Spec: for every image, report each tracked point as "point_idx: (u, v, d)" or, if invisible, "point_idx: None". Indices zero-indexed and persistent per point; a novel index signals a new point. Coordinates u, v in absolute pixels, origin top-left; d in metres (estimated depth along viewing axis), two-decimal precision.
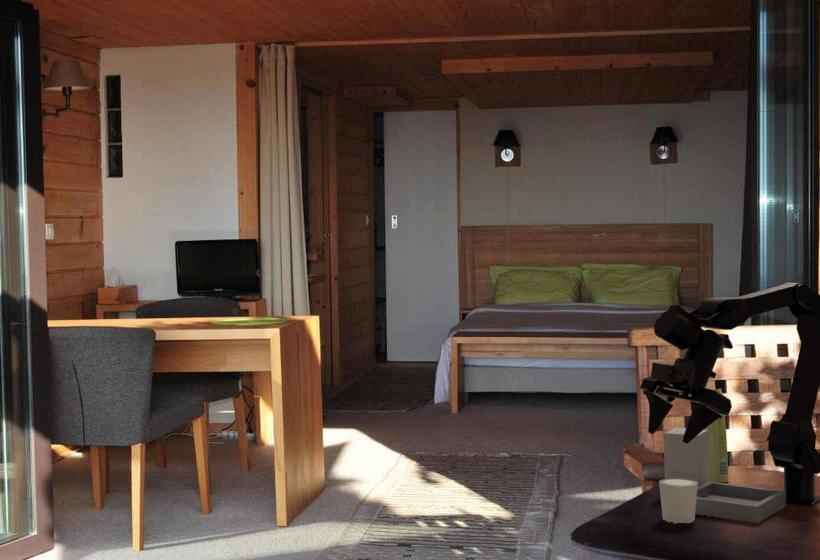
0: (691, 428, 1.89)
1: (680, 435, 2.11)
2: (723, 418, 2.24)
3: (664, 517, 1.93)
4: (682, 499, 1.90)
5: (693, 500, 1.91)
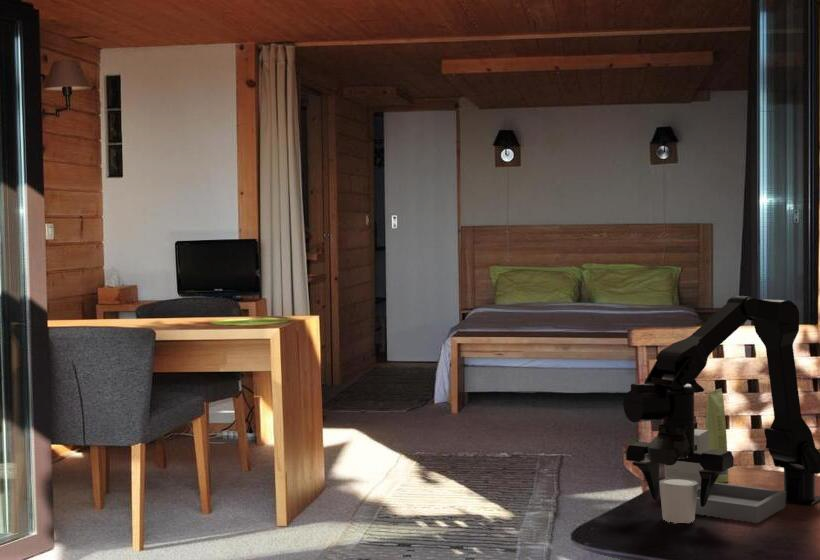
0: (706, 492, 1.89)
1: None
2: (723, 418, 2.24)
3: (664, 517, 1.93)
4: (682, 499, 1.90)
5: (693, 500, 1.91)
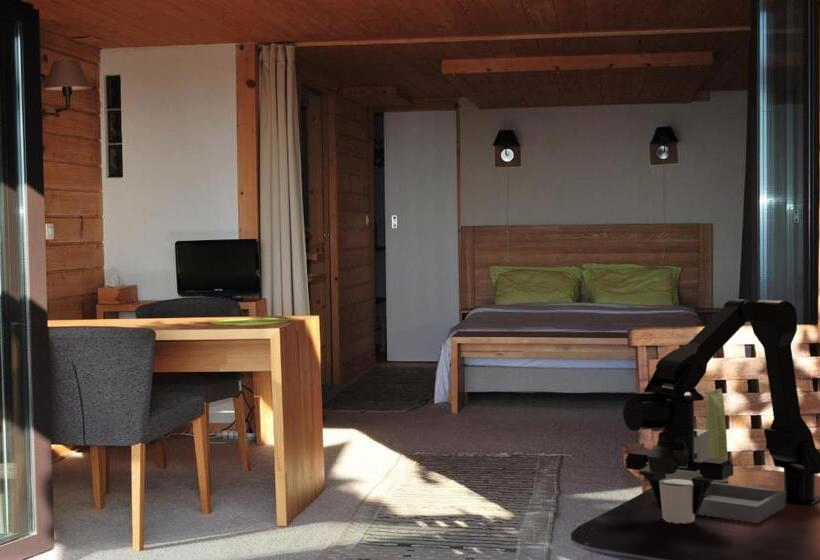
0: (698, 500, 1.90)
1: None
2: (723, 418, 2.24)
3: (664, 517, 1.93)
4: (682, 499, 1.90)
5: None
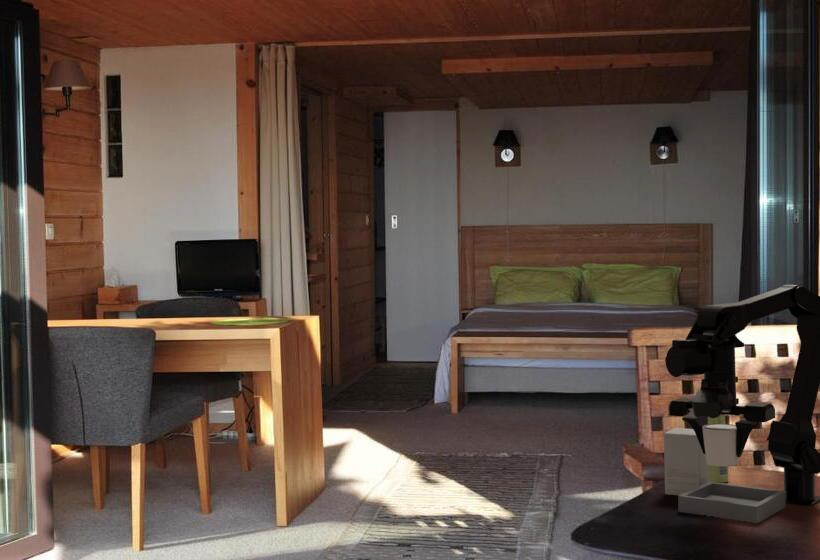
0: (742, 443, 1.96)
1: (680, 435, 2.11)
2: (723, 418, 2.24)
3: (708, 461, 1.98)
4: (726, 442, 1.95)
5: (736, 443, 1.96)
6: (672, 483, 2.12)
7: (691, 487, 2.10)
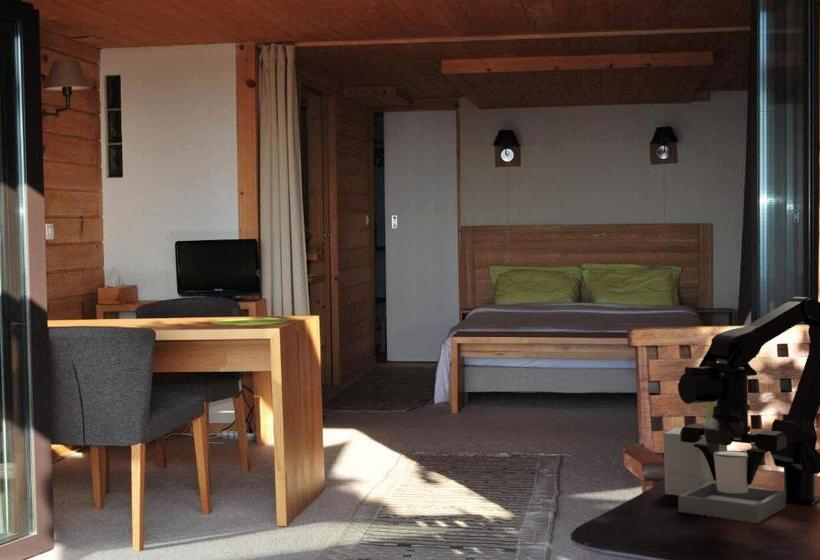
0: (752, 471, 1.97)
1: None
2: None
3: (719, 487, 2.00)
4: (737, 470, 1.97)
5: None
6: (672, 483, 2.12)
7: (691, 487, 2.10)
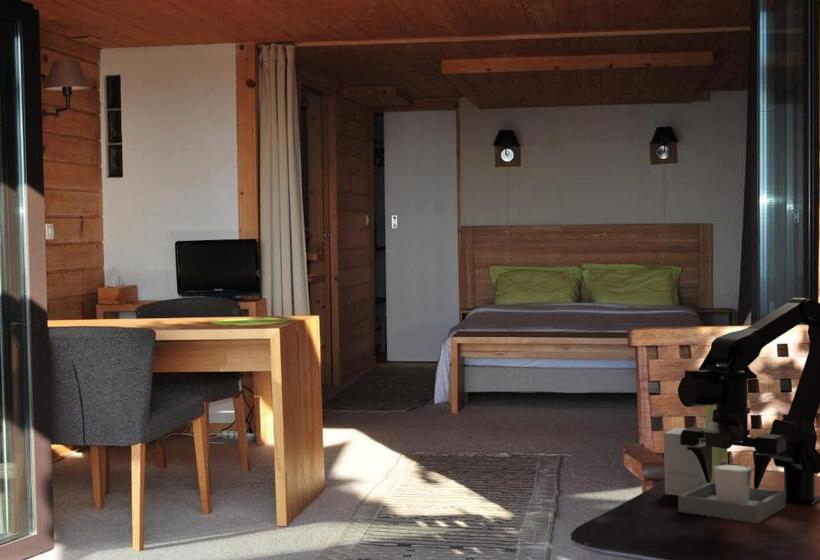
0: (759, 475, 1.96)
1: None
2: None
3: None
4: (737, 484, 1.97)
5: (747, 485, 1.98)
6: (672, 483, 2.12)
7: (691, 487, 2.10)
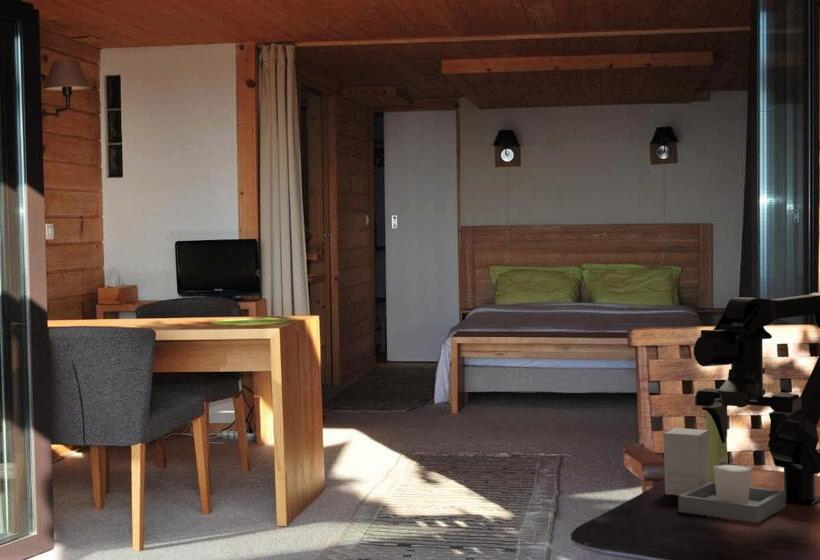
0: (775, 434, 1.97)
1: (680, 435, 2.11)
2: None
3: None
4: (737, 484, 1.97)
5: (747, 485, 1.98)
6: (672, 483, 2.12)
7: (691, 487, 2.10)
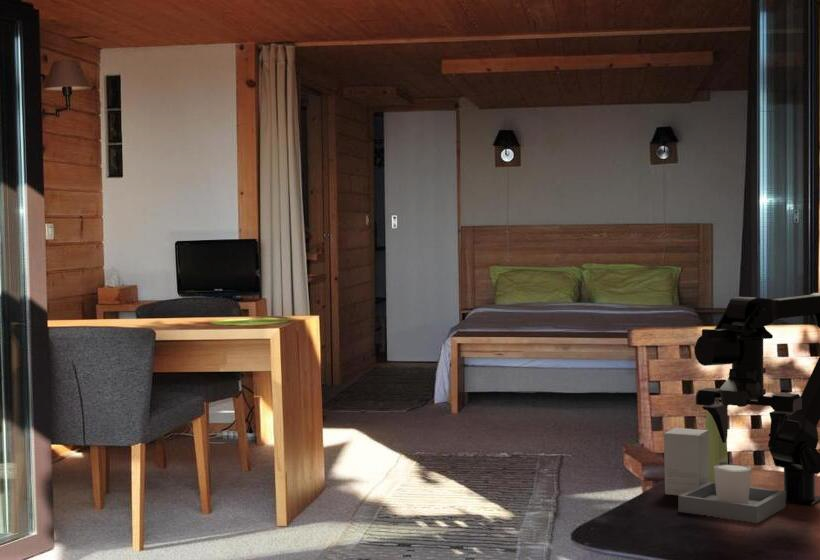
0: (775, 433, 1.97)
1: (680, 435, 2.11)
2: None
3: None
4: (737, 484, 1.97)
5: (747, 485, 1.98)
6: (672, 483, 2.12)
7: (691, 487, 2.10)
